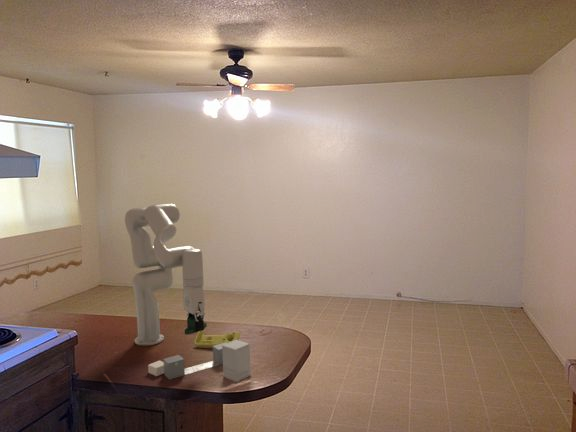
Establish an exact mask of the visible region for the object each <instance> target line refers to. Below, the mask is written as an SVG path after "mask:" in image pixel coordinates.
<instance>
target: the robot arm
mask: <svg viewBox="0 0 576 432" xmlns="http://www.w3.org/2000/svg"><path fill="white" fill-rule="evenodd" d="M180 215H181V213H180V210H179V208H178V207H177V206H176V204H173V203H162V204H161V203H160V204H151V205H149V206H141V207H134V208H130V209H129V210H127V211H126V213H125V215H124V224H125V227H126V230H127V233H128V235H129V238H130V243H131V244H130V245H131V252H132V260H133V265H134V266H135V267H136V269H137V268H138V269H147V268H153V267H157V268H156V269H151V270H143V271H140V272H138V273H135V275H134V276H133V277H132V288H133V291H134V296H135V308H136V310H135V311H136V321H137V322H136V324H137V326H136V327H137V337H136V338H135V339H134V344H136V345H137V346H144V347H145V346H154V345H157V344H160V343H162V342H163V341H164V339H165V336H164V334H161V327H160V326H161V325H160V306H159V305H160V304H159V300H158V298H157V297H156V296H155V295H154V292H159V291H163V290H166V289H169V288H171V287H172V285H173V281H174V280H173V279H174V278H173V270H172V269H174V268H175V269H176V268H180V267H182V268H181V269H182V285H183V293H182V294H183V295H182V299H183V300H182V307H183V310H185V311H186V316H187V318H189V317H193V316H194V315H195V319H196V321H195V331H196V333H198V331H202V332H203V331H204V330H205V329H204V325H203V320H204V317H205V315H206V313H205V310H206V309H205V308H206V306H205V293H204V287H203V286H204V285H205V284H204V266H203V264H204V263H203V252H202V250H201V249H199V248H194V247H193V246H192V245H185V246H177V247H172V248H171V247H170V248H167V246H166V245H165V244H166V243H168V242H169V241H171V240H172V239H173V238H174V237H175V236H176V233H177V227H176V225H175V223H177V222H178V221H179V220H180V218H181V217H180ZM145 227H150V230H152V232H153V234H154V235H155V238H154V240H153V244H152V237H151V234H150V233H149V231H148V230H147V229H146V228H145ZM197 316H198V317H197Z"/></svg>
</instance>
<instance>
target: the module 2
mask: <svg viewBox="0 0 576 432" xmlns="http://www.w3.org/2000/svg"><path fill="white" fill-rule="evenodd" d="M225 344H227V343H222V344H218V345H215V346H213V348H212V359H213V360H212V361H214V362H216V363H217V364H218V365H217V366H221V365H223V353H222V345H225ZM220 364H221V365H220Z"/></svg>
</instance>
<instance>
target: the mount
mask: <svg viewBox="0 0 576 432" xmlns="http://www.w3.org/2000/svg"><path fill="white" fill-rule="evenodd" d="M198 316H199V315H197V317H198ZM195 321H196V319H195V315H194V316H193V317H189V318H188V317H187V318H186V325H187V327H186V328H185V329H184V335H192V334H196V333H198V332H199V331H198V332H196V331H195ZM203 325H204V330H205V329H206V327H207V325H208V324H207V322H205V321H204V320H203Z"/></svg>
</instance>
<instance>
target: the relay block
mask: <svg viewBox="0 0 576 432" xmlns="http://www.w3.org/2000/svg"><path fill="white" fill-rule="evenodd" d="M147 368H148V374H149V375H153V376H155V377H157V376H160V375H162V374H163V375H164V362H163V361H162V360H160V359H159V360H157V361H154V362H152V363H150V364H148V365H147Z"/></svg>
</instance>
